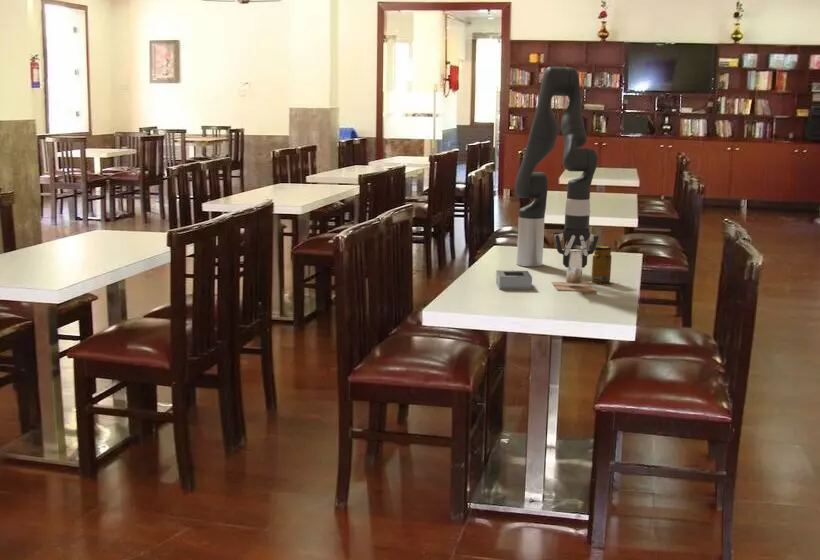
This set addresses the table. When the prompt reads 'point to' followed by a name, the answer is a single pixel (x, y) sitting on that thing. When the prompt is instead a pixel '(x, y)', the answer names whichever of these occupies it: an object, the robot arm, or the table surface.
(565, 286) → the board
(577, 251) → the plug
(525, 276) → the housing
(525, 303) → the table surface
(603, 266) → the condiment
